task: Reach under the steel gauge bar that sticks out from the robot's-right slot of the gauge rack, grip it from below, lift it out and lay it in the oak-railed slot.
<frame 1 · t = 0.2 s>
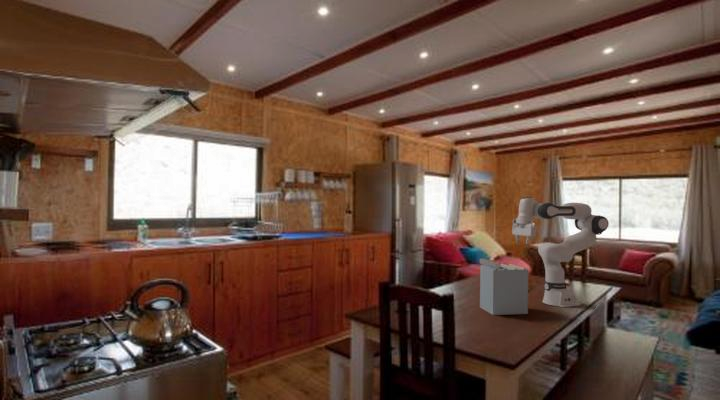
hand: (522, 243, 242), 39 cm above the table, tool pointing down, fingers open, 8 cm apart
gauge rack: (503, 310, 227), on the table
gauge bar: (489, 265, 232), point 26 cm above the table, touching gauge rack
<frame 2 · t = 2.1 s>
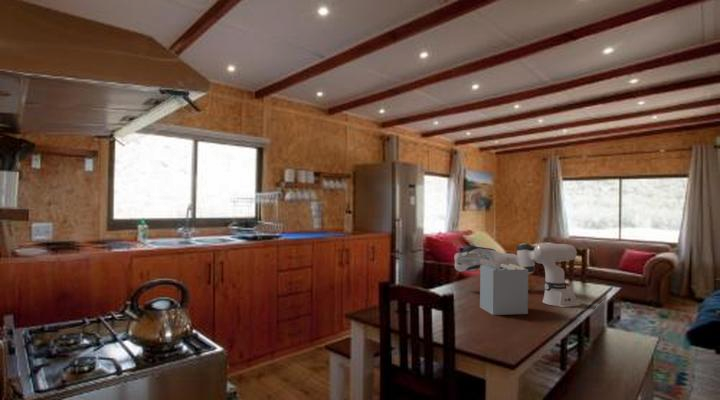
hand: (474, 252, 254), 31 cm above the table, tool pointing upward, fingers open, 8 cm apart
nothing on the table moved.
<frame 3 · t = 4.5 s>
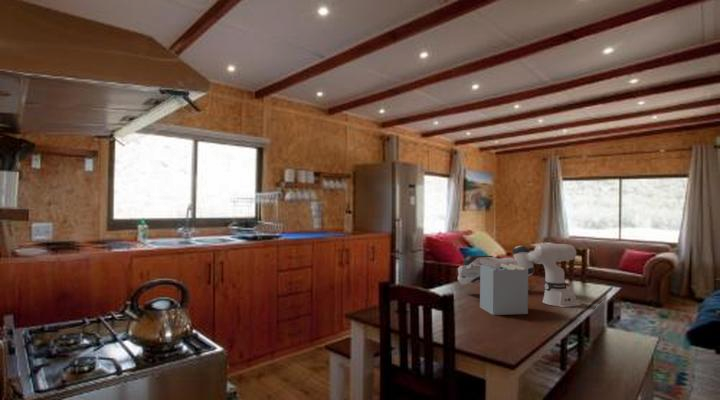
hand: (478, 265, 245), 24 cm above the table, tool pointing upward, fingers open, 8 cm apart
nothing on the table moved.
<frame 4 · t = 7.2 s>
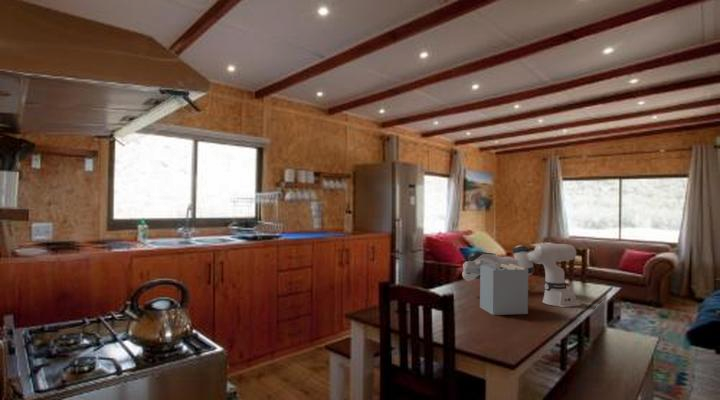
hand: (484, 261, 238), 28 cm above the table, tool pointing upward, fingers closed on gauge bar, 3 cm apart
gauge bar: (489, 265, 232), point 26 cm above the table, touching gripper
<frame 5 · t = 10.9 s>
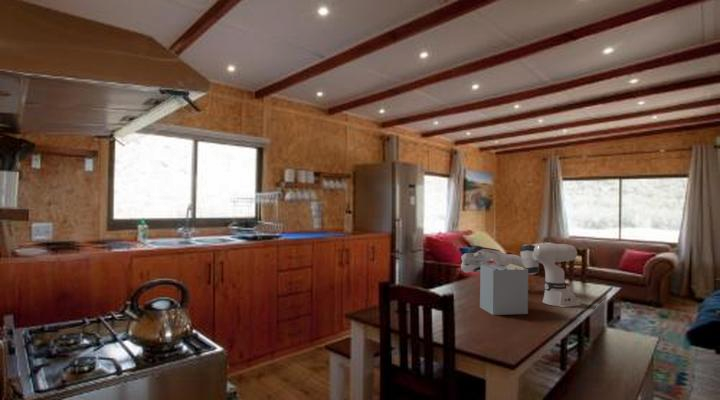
hand: (482, 252, 249), 32 cm above the table, tool pointing upward, fingers closed on gauge bar, 3 cm apart
gauge bar: (487, 257, 242), point 30 cm above the table, touching gripper
when the fingers open (29 cm above the table, at t = 14.9 s): gauge bar drops 1 cm, resting on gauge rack.
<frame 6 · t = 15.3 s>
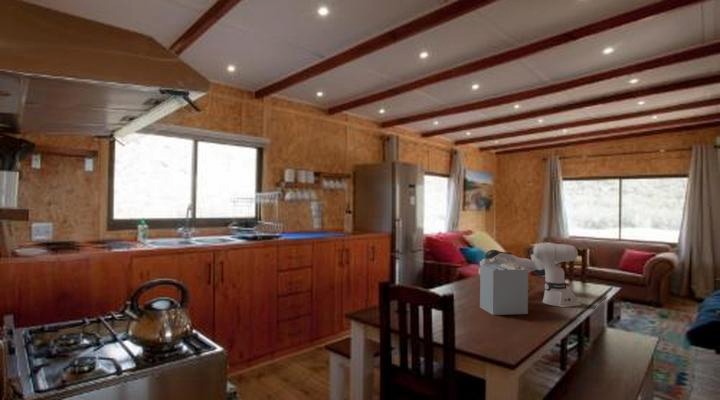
hand: (501, 258, 240), 29 cm above the table, tool pointing upward, fingers open, 8 cm apart
gauge bar: (507, 265, 234), point 26 cm above the table, touching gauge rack
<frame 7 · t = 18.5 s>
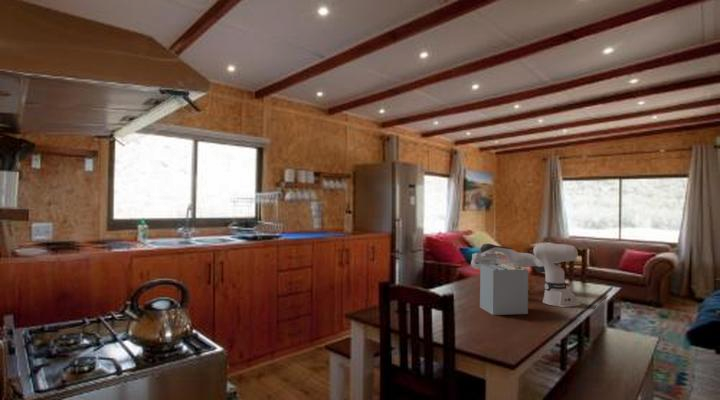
hand: (492, 253, 253), 31 cm above the table, tool pointing upward, fingers open, 8 cm apart
nothing on the table moved.
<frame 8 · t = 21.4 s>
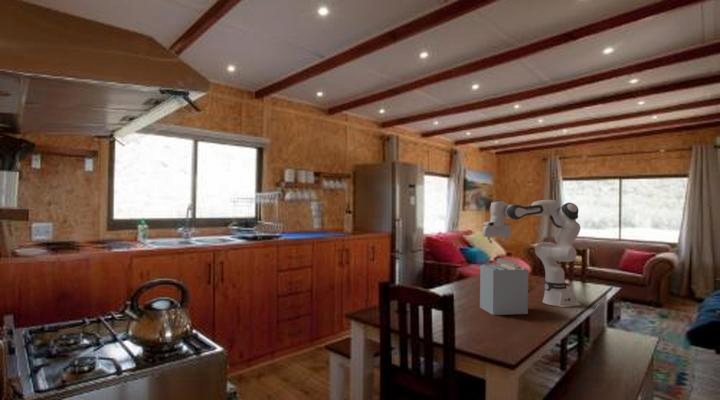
hand: (496, 243, 260), 37 cm above the table, tool pointing down, fingers open, 8 cm apart
nothing on the table moved.
at the end: gauge bar inside the target area (0.1 cm from its centre), point 26.0 cm above the table; gauge bar tilted 0°; the gripper is holding nothing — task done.
